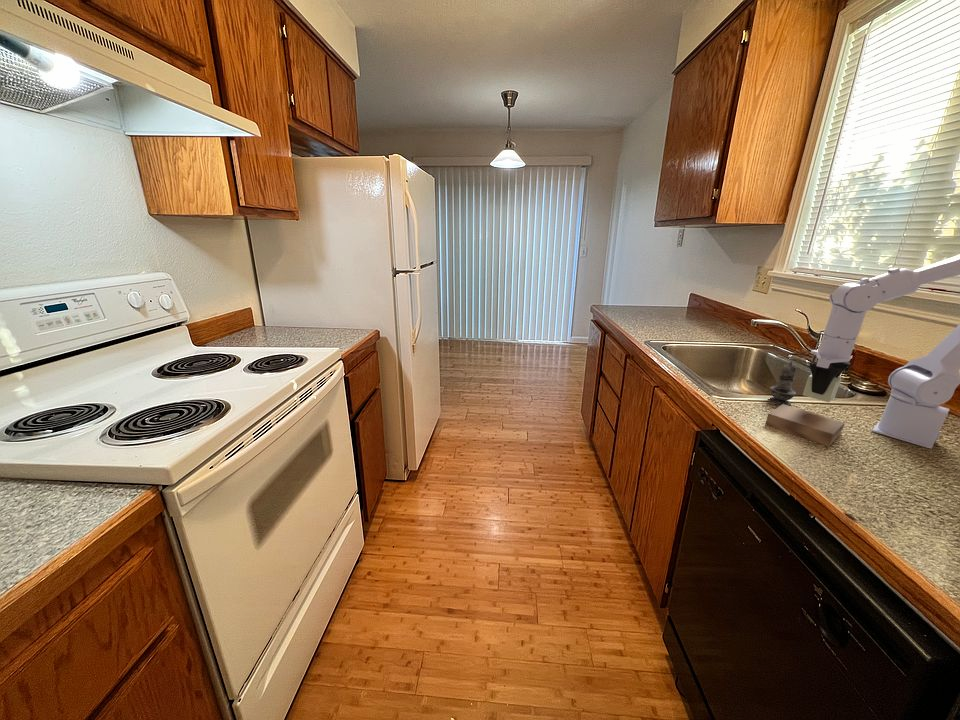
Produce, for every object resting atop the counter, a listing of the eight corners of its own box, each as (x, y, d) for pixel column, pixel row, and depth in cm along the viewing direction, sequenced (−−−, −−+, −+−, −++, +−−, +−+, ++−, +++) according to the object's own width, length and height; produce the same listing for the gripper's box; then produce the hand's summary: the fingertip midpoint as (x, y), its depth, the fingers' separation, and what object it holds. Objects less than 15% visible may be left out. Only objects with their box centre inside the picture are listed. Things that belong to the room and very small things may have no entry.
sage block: (834, 397, 92) (841, 378, 90) (828, 402, 89) (835, 382, 87) (808, 390, 96) (815, 372, 94) (802, 395, 93) (808, 376, 91)
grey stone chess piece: (783, 398, 108) (795, 358, 105) (797, 407, 103) (811, 365, 99) (761, 397, 109) (773, 357, 105) (774, 405, 103) (787, 364, 100)
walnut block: (840, 434, 89) (844, 422, 88) (828, 446, 83) (833, 434, 82) (779, 414, 98) (782, 404, 97) (765, 424, 92) (768, 413, 91)
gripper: (826, 329, 95) (809, 379, 99) (808, 336, 86) (790, 391, 91) (865, 335, 89) (845, 388, 93) (849, 343, 81) (828, 401, 85)
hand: (821, 390), depth 92 cm, fingers closed on sage block, 5 cm apart
